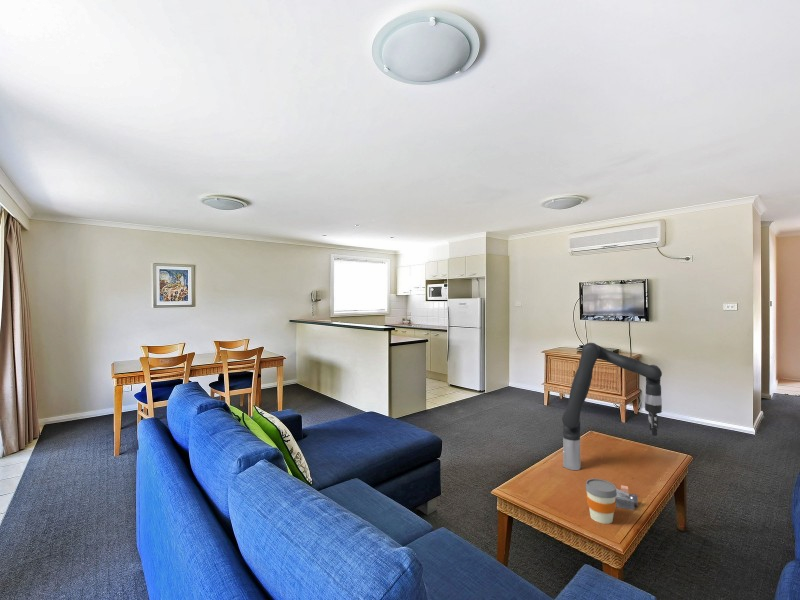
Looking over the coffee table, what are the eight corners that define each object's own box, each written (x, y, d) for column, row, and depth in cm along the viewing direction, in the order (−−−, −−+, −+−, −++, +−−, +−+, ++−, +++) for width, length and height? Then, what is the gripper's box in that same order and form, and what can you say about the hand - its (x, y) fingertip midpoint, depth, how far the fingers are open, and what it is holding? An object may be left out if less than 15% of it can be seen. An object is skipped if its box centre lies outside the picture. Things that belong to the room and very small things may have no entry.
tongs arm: (601, 492, 194) (601, 483, 194) (605, 490, 196) (605, 481, 196) (634, 508, 179) (634, 498, 179) (639, 505, 181) (639, 496, 181)
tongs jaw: (598, 503, 184) (598, 495, 184) (598, 500, 187) (598, 492, 187) (634, 510, 177) (634, 501, 177) (633, 507, 180) (633, 499, 180)
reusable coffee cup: (609, 529, 163) (608, 494, 163) (580, 516, 173) (580, 483, 173) (622, 519, 170) (621, 486, 170) (594, 507, 181) (593, 475, 181)
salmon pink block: (621, 497, 189) (621, 487, 189) (621, 494, 191) (620, 485, 191) (628, 499, 187) (628, 488, 187) (628, 496, 190) (627, 486, 190)
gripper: (643, 398, 211) (643, 427, 212) (647, 405, 199) (646, 436, 199) (659, 400, 208) (659, 429, 208) (664, 407, 195) (664, 438, 196)
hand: (653, 432), depth 204 cm, fingers open, 8 cm apart
